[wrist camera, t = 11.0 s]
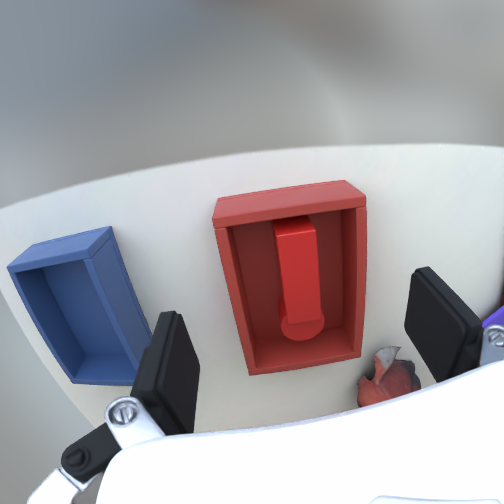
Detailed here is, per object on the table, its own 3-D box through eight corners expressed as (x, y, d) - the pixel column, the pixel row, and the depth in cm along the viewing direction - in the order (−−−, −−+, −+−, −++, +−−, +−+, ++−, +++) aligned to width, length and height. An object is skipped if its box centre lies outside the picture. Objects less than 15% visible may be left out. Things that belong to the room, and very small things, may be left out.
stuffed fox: (414, 315, 22) (483, 428, 11) (426, 382, 27) (467, 470, 16) (333, 355, 24) (371, 484, 13) (364, 412, 28) (391, 506, 17)
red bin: (217, 198, 18) (211, 217, 15) (344, 179, 18) (366, 195, 14) (248, 341, 23) (249, 376, 19) (347, 325, 22) (360, 357, 19)
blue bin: (32, 244, 19) (6, 266, 16) (111, 225, 18) (87, 249, 15) (86, 355, 24) (72, 383, 20) (160, 353, 23) (151, 386, 20)
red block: (264, 215, 18) (267, 237, 15) (311, 208, 18) (324, 228, 15) (279, 323, 21) (284, 354, 18) (318, 316, 21) (328, 347, 18)
